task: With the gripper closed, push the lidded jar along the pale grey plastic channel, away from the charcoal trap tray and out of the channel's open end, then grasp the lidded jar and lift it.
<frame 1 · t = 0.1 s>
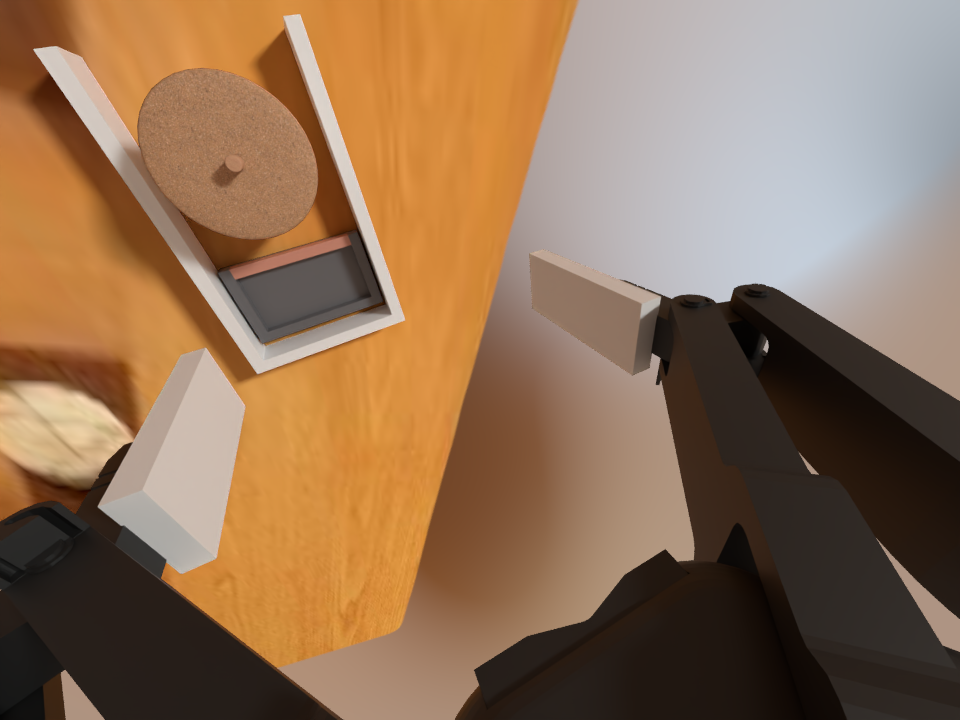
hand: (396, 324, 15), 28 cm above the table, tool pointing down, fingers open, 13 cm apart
lidded jar: (247, 160, 32), on the table
channel: (273, 212, 34), on the table
trap tray: (308, 284, 38), resting in channel
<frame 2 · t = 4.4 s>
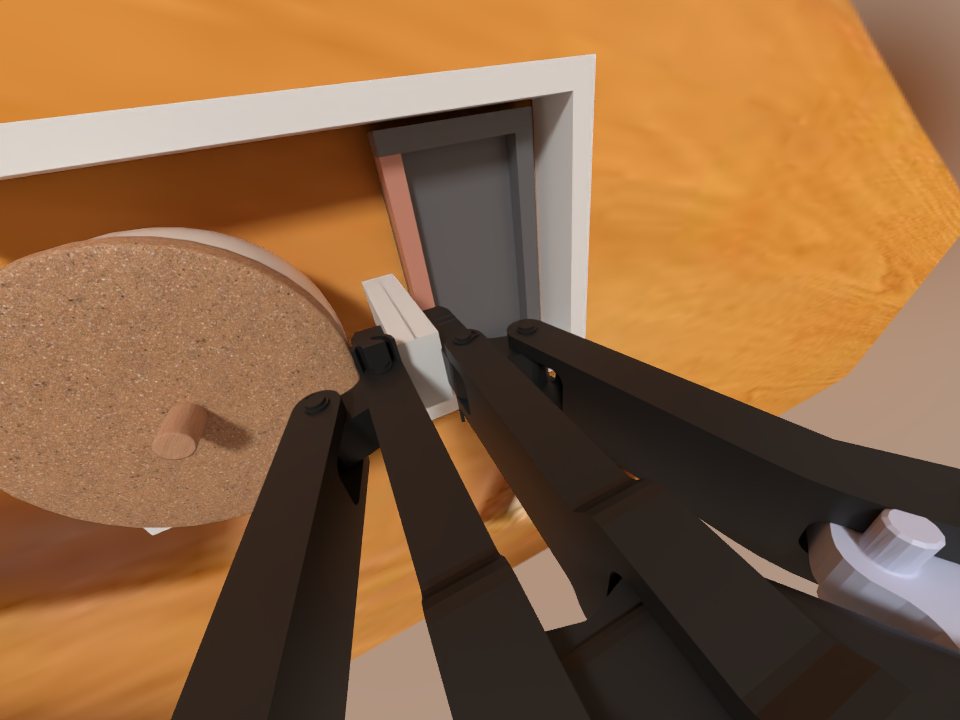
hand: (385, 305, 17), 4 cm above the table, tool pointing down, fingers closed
lidded jar: (229, 319, 18), on the table, touching gripper
channel: (341, 288, 19), on the table
trap tray: (466, 253, 21), resting in channel
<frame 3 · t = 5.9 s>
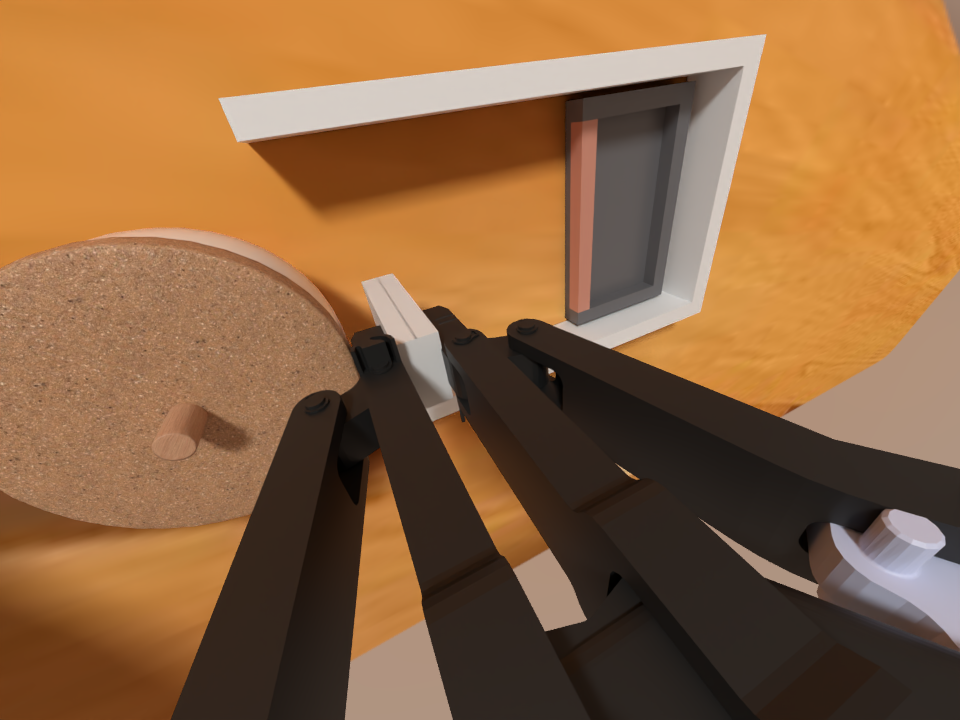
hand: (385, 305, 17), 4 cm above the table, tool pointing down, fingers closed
lidded jar: (229, 319, 18), on the table, touching gripper
channel: (518, 239, 22), on the table
trap tray: (614, 213, 24), resting in channel
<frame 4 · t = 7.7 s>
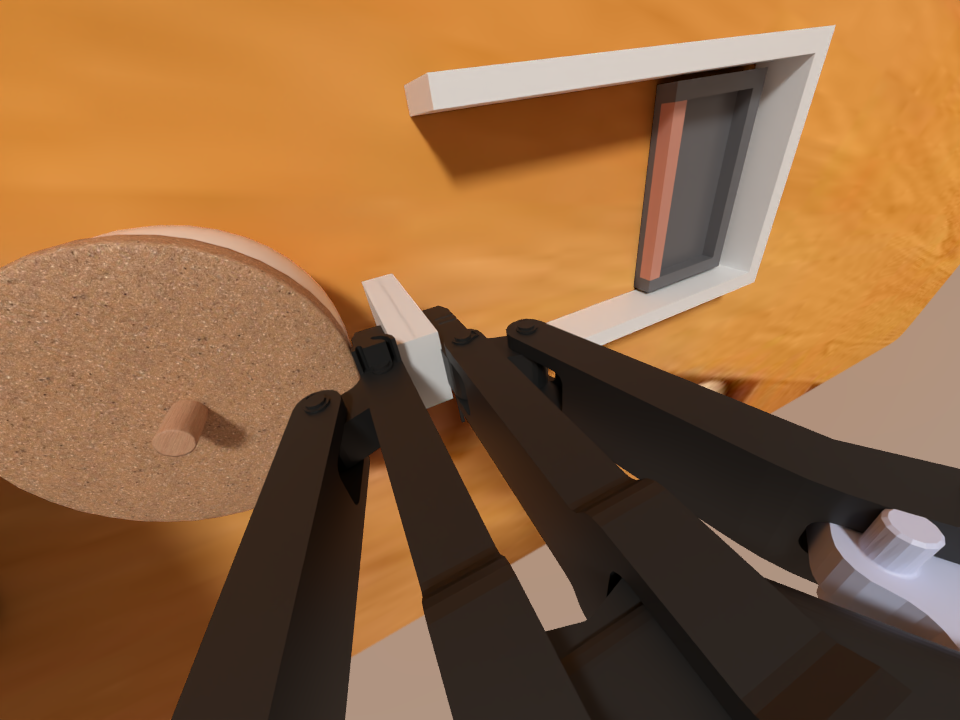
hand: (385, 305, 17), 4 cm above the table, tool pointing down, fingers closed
lidded jar: (235, 316, 18), on the table, touching gripper
channel: (605, 211, 25), on the table
trap tray: (684, 189, 27), resting in channel
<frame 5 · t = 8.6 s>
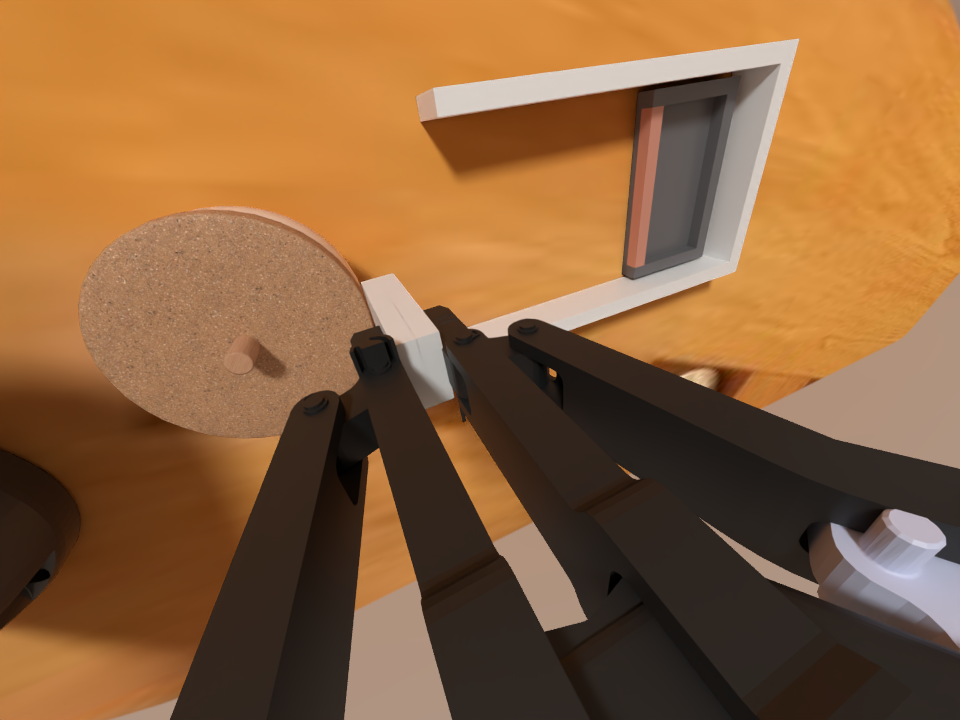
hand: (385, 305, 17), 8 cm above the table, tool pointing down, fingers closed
lidded jar: (274, 285, 22), on the table
channel: (593, 204, 28), on the table
trap tray: (667, 185, 30), resting in channel
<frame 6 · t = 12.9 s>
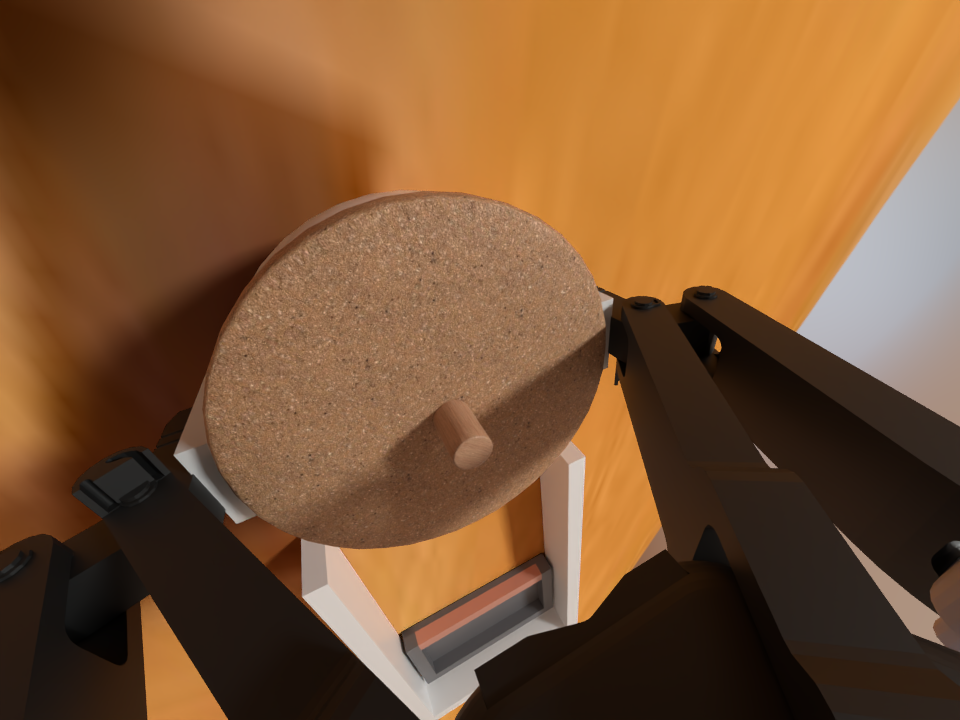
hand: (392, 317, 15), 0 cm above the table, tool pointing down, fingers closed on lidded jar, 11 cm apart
lidded jar: (388, 308, 16), on the table, touching gripper
channel: (469, 570, 29), on the table
trap tray: (481, 610, 33), resting in channel
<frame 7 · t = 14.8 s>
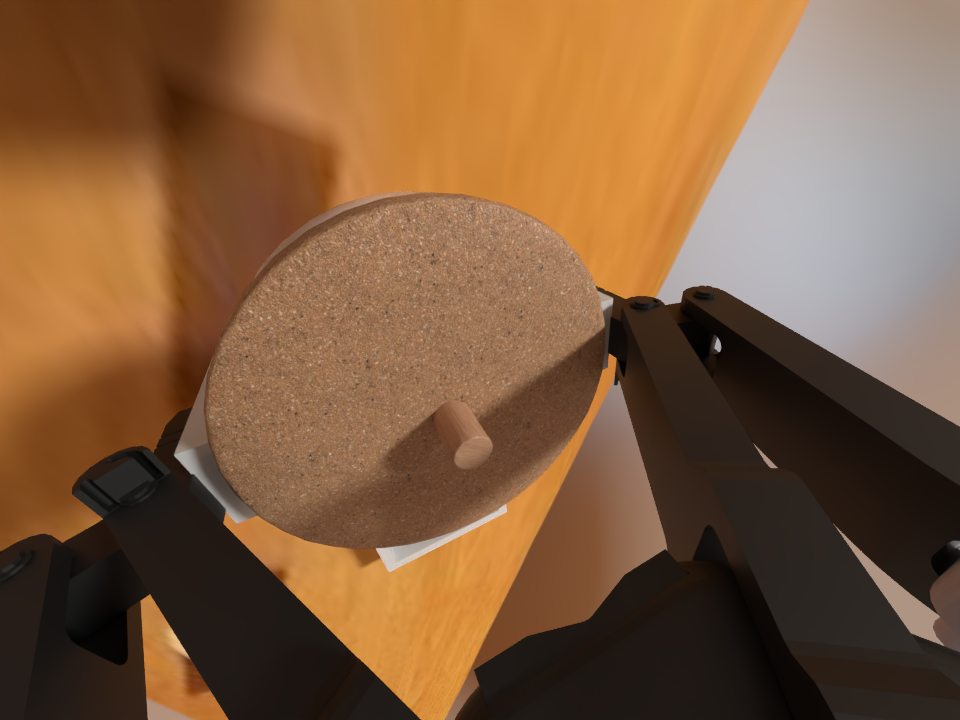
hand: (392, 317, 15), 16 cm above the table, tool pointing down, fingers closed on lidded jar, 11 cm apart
lidded jar: (388, 308, 16), point 15 cm above the table, touching gripper
channel: (418, 449, 41), on the table
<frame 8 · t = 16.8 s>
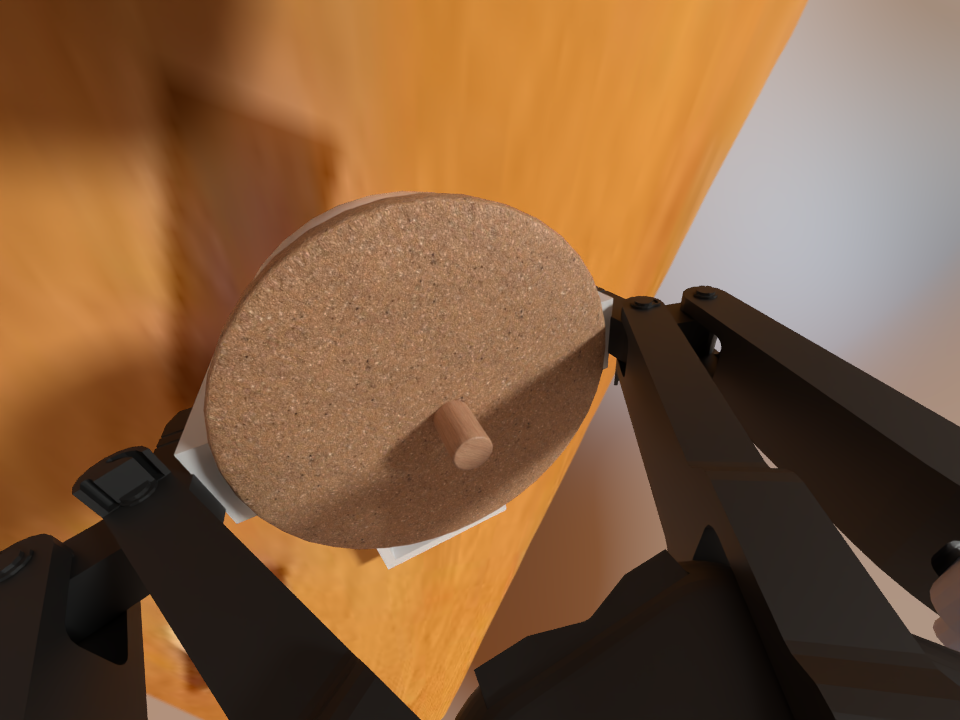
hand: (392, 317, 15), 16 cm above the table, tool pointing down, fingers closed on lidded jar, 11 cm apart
lidded jar: (388, 309, 16), point 15 cm above the table, touching gripper
channel: (418, 447, 41), on the table
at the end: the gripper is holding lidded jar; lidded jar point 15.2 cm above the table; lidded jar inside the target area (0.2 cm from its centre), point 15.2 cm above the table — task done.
